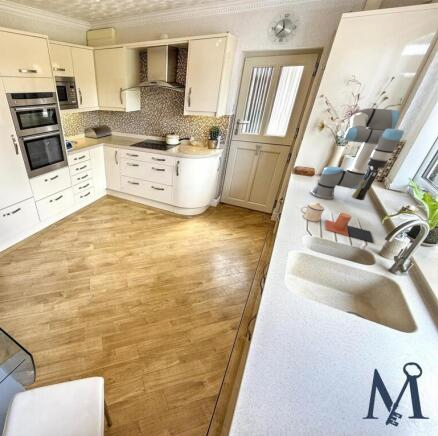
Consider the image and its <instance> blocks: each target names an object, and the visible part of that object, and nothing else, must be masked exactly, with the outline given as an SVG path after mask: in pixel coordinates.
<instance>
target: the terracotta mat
mask: <svg viewBox="0 0 438 436" xmlns="http://www.w3.org/2000/svg"><path fill="white" fill-rule="evenodd" d="M334 223H335V221H332V220H328V219H325V230H326V231H329V232H332V233H335V234H339V235H343V236H346V237H350V236H349V232H348V227H346V228H345V230H338V229H336V228H334V227H333V225H334Z"/></svg>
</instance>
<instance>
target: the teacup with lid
mask: <svg viewBox="0 0 438 436" xmlns="http://www.w3.org/2000/svg"><path fill="white" fill-rule="evenodd" d="M303 209H306V210H305V211H303ZM324 211H325V207H324V206H323V205H321V202H318V201H316V202H310V203H308V204H307V206H306V205H303V206H301V207H300V212H301V213H302V214H303V218H304V219H305V220H307V221H310V222H315V223H316V222H319V220H321V219H320V218H321V216H322V214H323V212H324Z"/></svg>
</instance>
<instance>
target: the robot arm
mask: <svg viewBox="0 0 438 436" xmlns="http://www.w3.org/2000/svg"><path fill="white" fill-rule="evenodd" d="M400 115H401V113H400V110H396V109H389V108H388V109H386V108H374V107H368V108H363V109H360V110H357V111H355V112H354V113H353V114H352V115H351V116H350V117H349V118H348V119H349V120H348V124H349V126H350V127H348V128H347V129H346V131H345V133H344V136H343V141H347V142H354V143H361V147H360V149H359V150H358V153H357V155H356V156H355V158H354V161H353V162H352V164H351V166H350V167H348V168H347V169H346V170H344V168H343V167H339V166H326V167H324V169H323V171H322V172H321V173H320V174H319V175H320V177H319V179H318V182H317V184H316V185H315V186H314V187H313V188H312V189H311V191H310V194H311V195H312V196H314V197H316V198H319V199H323V200H332V199H333V198H334V197H335V188H336V186H338V187H342V188H347V189H350V190H357V188H358V187H359V186H360V182H361V181H362V180H366V181H365V183H364V185H363V187H362V188H360V189H361V190H360V192H359V194H358V195H357V197H356V199H355V200H358V201H363V200H362V199H363V197H364V195H365V193H366V192H367V193H368V191H369V190H370V189H371V187H372V185H373V183H374V181H375V179H376V178H377V176H378V175H379V169H384V168H385V167H386V166H387V164H388V161H389V160H390V159H391V157H393V156H394V154H393V153H394V151H395V149H396V148H397V146H398V144H399V143H400V141H401V140H402V139H403V136H404V133H405V131H404V130H403V129H398V128H396V127H397V126H398V123H399V120H400ZM367 190H368V191H367ZM367 193H366V194H367Z"/></svg>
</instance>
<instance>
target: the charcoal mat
mask: <svg viewBox="0 0 438 436" xmlns="http://www.w3.org/2000/svg"><path fill="white" fill-rule="evenodd" d="M347 229H348V234H349V236H348V237H350V238H353V239H357V240H361V241H364V242H368V243H372V244H374V239H373V236H372V233H371V231H370V230H367V229H363V228H358V227H356V226H355V227H354V226H351V225H347Z"/></svg>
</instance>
